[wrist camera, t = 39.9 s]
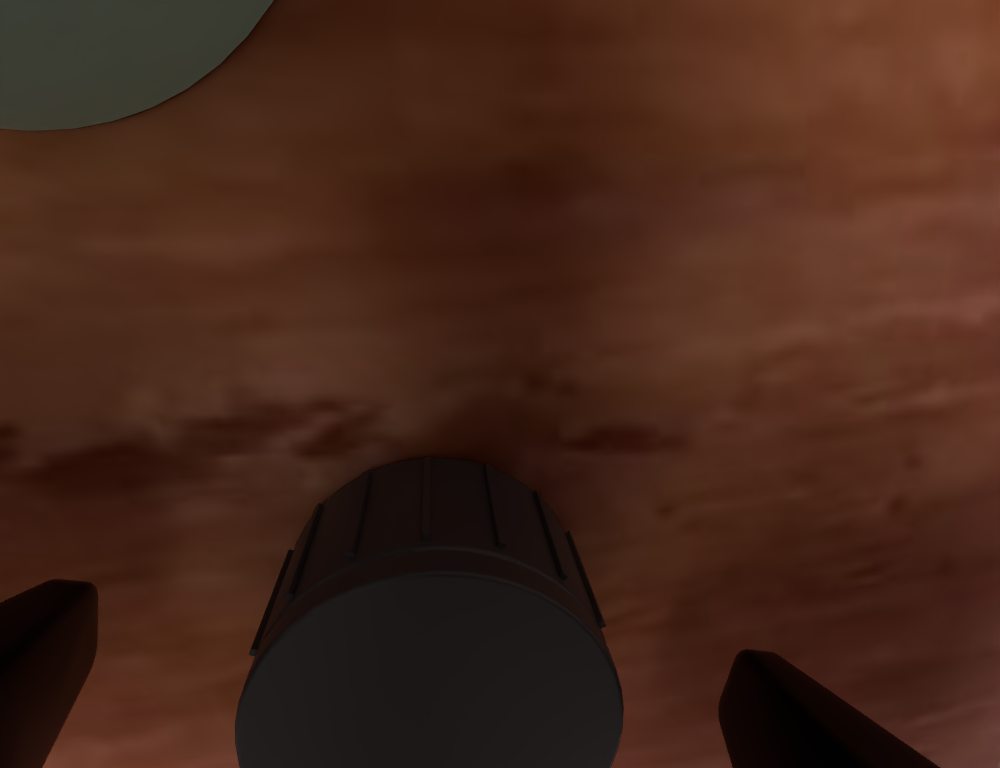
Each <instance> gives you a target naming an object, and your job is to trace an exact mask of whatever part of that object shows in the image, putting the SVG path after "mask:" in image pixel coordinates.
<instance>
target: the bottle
mask: <svg viewBox="0 0 1000 768" xmlns="http://www.w3.org/2000/svg"><path fill="white" fill-rule="evenodd" d="M272 2H273V0H0V129H10V130H23V131H43V130H62V129H75V128H80V127H86V126H91V125H96V124H101V123H106V122H111V121H115V120H118V119H121V118H124V117H127V116H129V115H132V114H135V113H138V112H141V111H144V110H147V109H149V108H152V107H154V106H156V105H158V104H160V103H162V102H163V101H165V100H167V99H169V98H171V97H173V96H175V95H177V94H178V93H180V92H182V91H184V90H186V89H188V88H189V87H190V86H192V85H193V84H194V83H196V82H197V81H198V80H200V79H201V78H202V77H204V76H205V75H206V74H208V73H209V72H210V71H212V70H213V69H214V68H216V67H217V66H218V65H220V64H221V63H222V62H223V61H224V60H225V59H226V58H227V57H228V55H229V54H230V53H231V52H232V51H233V50H234V49H235V48H236V47H237V46H238V45H239V44H240V43H241V42H242V41H243V40H244V39H245V38H246V37H247V36H248V35H249V34H250V32H251V31H252V29H253V28H254V27H255V25H256V24H257V23H258V21H259V20H260V18H261V17H262V16H263V14H264V13H265V12H266V10H267V9H268V7H269V6H270V5H271V3H272Z"/></svg>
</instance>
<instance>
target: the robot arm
mask: <svg viewBox="0 0 1000 768" xmlns="http://www.w3.org/2000/svg"><path fill="white" fill-rule="evenodd" d="M97 634H98V592H97V588H96V587H95V586H94V585H93V584H92V583H90V582H83V581H74V580H64V579H53V580H49V581H47V582H44V583H42V584H40V585H38V586H36V587H33V588H31V589H29V590H27V591H25V592H22V593H20V594H18V595H16V596H14V597H12V598H9V599H7V600H5V601H3V602H1V603H0V768H42V767H43V765H44V763H45V761H46V759H47V757H48V755H49V753H50V751H51V749H52V747H53V745H54V743H55V741H56V739H57V737H58V735H59V733H60V731H61V729H62V727H63V725H64V723H65V721H66V719H67V717H68V715H69V713H70V711H71V709H72V707H73V705H74V703H75V701H76V699H77V697H78V695H79V693H80V691H81V689H82V687H83V685H84V683H85V681H86V679H87V677H88V675H89V673H90V670H91V668H92V665H93V663H94V660H95V656H96V651H97ZM718 714H719V722H720V726H721V729H722V733H723V736H724V740H725V743H726V747H727V750H728V754H729V757H730V761H731V764H732V768H940V767H938V766H937V765H936V764H934V763H933V762H931V761H930V760H928V759H927V758H926V757H924V756H923V755H921V754H920V753H918V752H917V751H916V750H914V749H913V748H911V747H910V746H908V745H907V744H905V743H904V742H903V741H901V740H900V739H898V738H897V737H895V736H894V735H893V734H891V733H890V732H888V731H887V730H885V729H884V728H883V727H881V726H880V725H878V724H877V723H875V722H874V721H872V720H871V719H870V718H868V717H867V716H865V715H864V714H862V713H861V712H860V711H858V710H857V709H855V708H854V707H852V706H851V705H849V704H848V703H847V702H845V701H844V700H842V699H841V698H839V697H838V696H837V695H835V694H834V693H832V692H831V691H829V690H828V689H827V688H825V687H824V686H822V685H821V684H819V683H818V682H816V681H815V680H814V679H812V678H811V677H809V676H808V675H806V674H805V673H804V672H802V671H801V670H799V669H798V668H796V667H795V666H794V665H792V664H791V663H789V662H788V661H786V660H785V659H783V658H782V657H781V656H779V655H778V654H776V653H773V652H769V651H760V650H750V649H745V650H742V651H740V652H739V653H738V654H737V655H736V658H735V660H734V662H733V665H732V668H731V671H730V673H729V676H728V679H727V681H726V684H725V687H724V690H723V692H722V695H721V698H720V702H719V708H718Z"/></svg>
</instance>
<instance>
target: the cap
mask: <svg viewBox="0 0 1000 768" xmlns="http://www.w3.org/2000/svg"><path fill="white" fill-rule="evenodd" d="M604 627H606V625H605V622H604V620H603V617H602V614H601V612H600V609H599V607H598V604H597V601H596V599H595V596H594V594H593V591H592V588H591V586H590V583H589V580H588V578H587V575H586V573H585V570H584V567H583V565H582V562H581V560H580V557H579V554H578V552H577V549H576V546H575V544H574V541H573V539H572V536H571V534H570V532H569V531H568V532H564V530H563V527H562V525H561V523H560V522H559V520H558V519H557V517H556V516H555V514H554V513H553V511H552V510H551V509H550V508H549V507H548V505H547V504H546V503H545V502H544V501H543V500H542V497H541V494H540V493H539V492H538V491H537V490H536V491H535V492H533V491H532V490H531V489H530V488H529V487H527V486H526V485H524V484H523V483H521V482H519V481H518V480H516V479H515V478H513V477H512V476H509V475H507V474H505V473H503V472H501V471H499V470H497V469H494V468H491V465H489V464H485V465H482V464H478V463H475V462H470V461H464V460H459V459H447V458H431V457H424V459H415V460H409V461H403V462H398V463H395V464H391V465H388V466H385V467H381V468H378V469H376V470H374V471H372V472H370V470H368V471H366V472H364V473H363V475H362V476H360V477H359V478H357V479H355V480H354V481H352V482H350V483H349V484H347V485H345V486H344V487H342V488H341V489H340V490H339V491H337V492H336V493H335V494H334V495H332V496H331V497H330V498H329V499H328V500H327V501H326V502H325V503H324V504H323V505H322V504H320V503H319V504H318V505H317V506H316V507H315V510H314V512H313V515H312V518H311V519H310V520H309V522H308V523H307V525H306V526H305V528H304V530H303V532H302V533H301V535H300V537H299V539H298V541H297V544H296V546H295V549H294V551H293V550H289V551H288V553H287V556H286V559H285V561H284V564H283V566H282V569H281V572H280V574H279V577H278V579H277V582H276V585H275V587H274V590H273V592H272V595H271V598H270V600H269V603H268V606H267V608H266V611H265V613H264V616H263V619H262V621H261V624H260V626H259V629H258V632H257V634H256V637H255V639H254V642H253V645H252V647H251V650H250V653H249V655H251V656H255V658H254V660H253V663H252V666H251V668H250V671H249V674H248V676H247V679H246V682H245V685H244V688H243V691H242V693H241V696H240V699H239V702H238V708H237V714H236V720H235V745H236V751H237V756H238V762H239V767H240V768H611V766H612V763H613V761H614V758H615V756H616V753H617V750H618V747H619V742H620V737H621V733H622V727H623V710H624V707H623V698H622V689H621V685H620V682H619V678H618V674H617V671H616V668H615V665H614V662H613V660H612V657H611V654H610V652H609V649H608V647H607V645H606V641H605V638H604V635H603V633H602V630H601V628H604Z"/></svg>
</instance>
